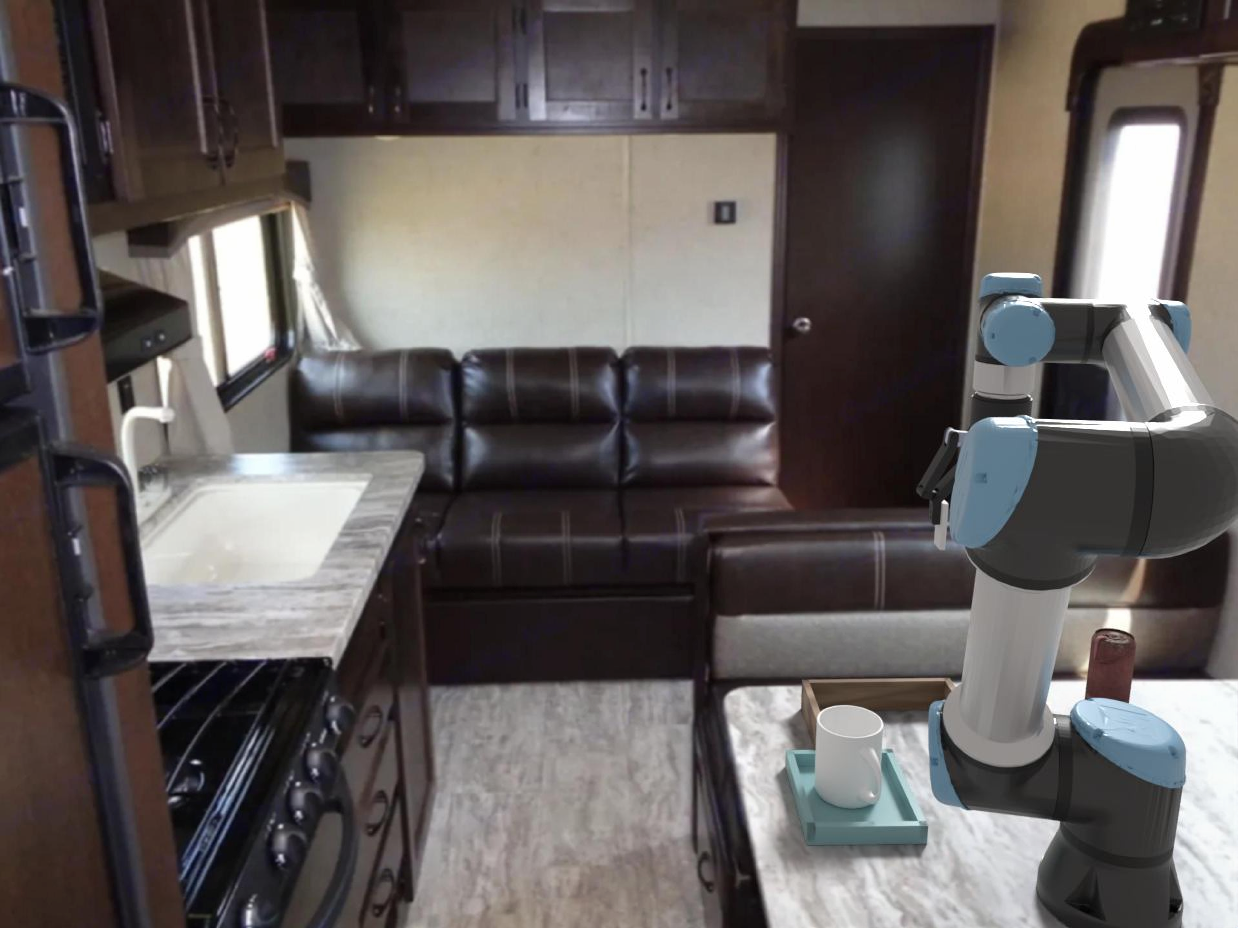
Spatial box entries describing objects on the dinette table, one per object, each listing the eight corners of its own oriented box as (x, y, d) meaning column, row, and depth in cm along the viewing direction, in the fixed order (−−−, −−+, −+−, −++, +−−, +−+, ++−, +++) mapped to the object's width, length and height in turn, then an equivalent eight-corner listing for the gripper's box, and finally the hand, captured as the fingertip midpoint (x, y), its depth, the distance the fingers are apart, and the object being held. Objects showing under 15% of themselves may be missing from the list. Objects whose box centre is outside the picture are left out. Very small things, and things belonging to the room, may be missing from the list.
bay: (979, 758, 148) (981, 726, 147) (818, 760, 148) (819, 728, 147) (947, 706, 163) (949, 677, 161) (801, 708, 163) (802, 679, 162)
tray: (927, 843, 130) (928, 825, 129) (807, 845, 130) (807, 826, 129) (890, 764, 147) (891, 748, 146) (785, 766, 147) (785, 750, 146)
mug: (848, 831, 131) (852, 756, 128) (802, 781, 142) (805, 711, 139) (906, 817, 134) (911, 743, 131) (857, 769, 145) (860, 700, 142)
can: (1072, 714, 160) (1082, 631, 156) (1102, 705, 162) (1112, 623, 158) (1105, 733, 154) (1115, 647, 151) (1135, 723, 157) (1146, 638, 153)
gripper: (1085, 386, 139) (1069, 535, 145) (899, 388, 139) (891, 537, 145) (1110, 397, 132) (1093, 554, 138) (914, 400, 132) (905, 556, 138)
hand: (989, 546), depth 141 cm, fingers open, 13 cm apart
